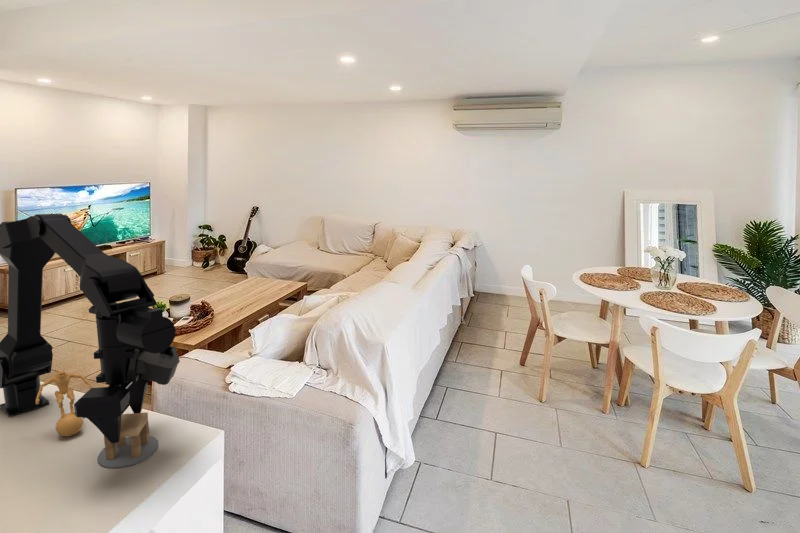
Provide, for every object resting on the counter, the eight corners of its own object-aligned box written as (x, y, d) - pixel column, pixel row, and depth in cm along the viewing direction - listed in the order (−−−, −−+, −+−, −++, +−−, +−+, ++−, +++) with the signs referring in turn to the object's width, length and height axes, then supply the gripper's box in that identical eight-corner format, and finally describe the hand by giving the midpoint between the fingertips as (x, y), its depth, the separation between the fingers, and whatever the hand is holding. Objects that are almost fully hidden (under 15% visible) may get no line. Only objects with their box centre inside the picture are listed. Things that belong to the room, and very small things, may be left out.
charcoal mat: (88, 455, 73) (87, 453, 73) (142, 431, 80) (142, 429, 80) (112, 475, 68) (112, 473, 68) (168, 448, 76) (168, 446, 75)
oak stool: (106, 460, 71) (103, 430, 70) (119, 442, 76) (116, 414, 75) (139, 457, 72) (136, 427, 71) (149, 440, 77) (147, 412, 76)
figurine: (43, 448, 74) (35, 384, 72) (38, 434, 78) (30, 373, 76) (100, 429, 80) (94, 370, 78) (92, 417, 84) (86, 361, 82)
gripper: (152, 361, 63) (159, 455, 66) (187, 322, 81) (191, 397, 84) (67, 364, 61) (78, 462, 64) (122, 324, 79) (129, 401, 82)
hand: (127, 426), depth 73 cm, fingers open, 9 cm apart
